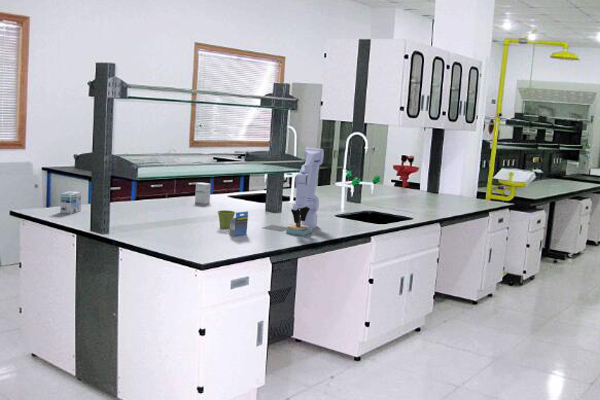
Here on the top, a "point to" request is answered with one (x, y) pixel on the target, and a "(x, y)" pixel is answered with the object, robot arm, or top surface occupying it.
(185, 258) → the top surface
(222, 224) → the plant pot
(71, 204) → the light bulb box
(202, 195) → the supplement box
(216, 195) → the top surface
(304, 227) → the lid
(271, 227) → the mat
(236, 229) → the label tape box
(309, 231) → the dish
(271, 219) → the top surface
